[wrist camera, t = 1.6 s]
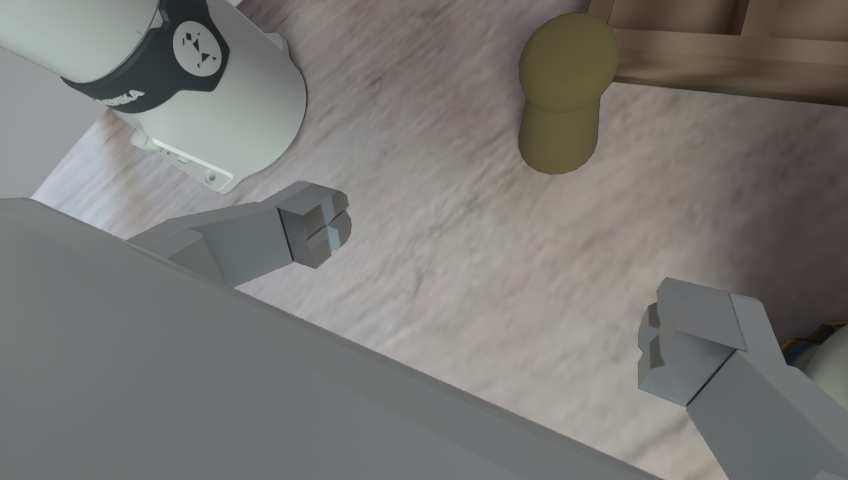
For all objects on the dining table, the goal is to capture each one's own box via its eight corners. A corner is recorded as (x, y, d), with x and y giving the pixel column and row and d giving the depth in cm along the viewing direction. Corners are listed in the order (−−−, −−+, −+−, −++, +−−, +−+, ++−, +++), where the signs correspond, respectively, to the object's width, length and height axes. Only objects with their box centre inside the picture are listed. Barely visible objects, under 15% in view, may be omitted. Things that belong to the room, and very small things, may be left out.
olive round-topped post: (539, 95, 29) (543, -20, 19) (612, 119, 27) (659, 5, 17) (504, 157, 29) (489, 76, 19) (574, 186, 27) (599, 112, 17)
